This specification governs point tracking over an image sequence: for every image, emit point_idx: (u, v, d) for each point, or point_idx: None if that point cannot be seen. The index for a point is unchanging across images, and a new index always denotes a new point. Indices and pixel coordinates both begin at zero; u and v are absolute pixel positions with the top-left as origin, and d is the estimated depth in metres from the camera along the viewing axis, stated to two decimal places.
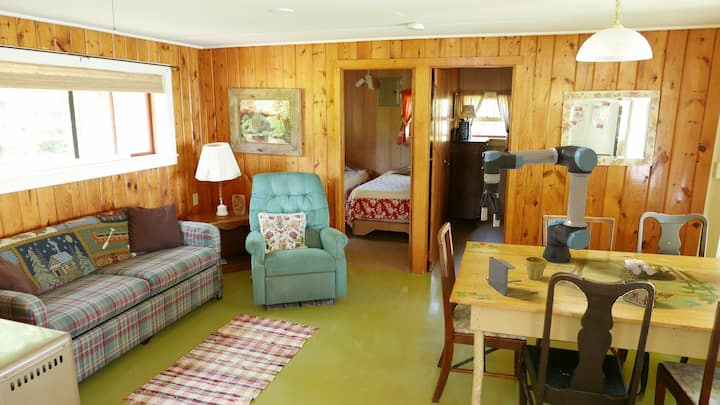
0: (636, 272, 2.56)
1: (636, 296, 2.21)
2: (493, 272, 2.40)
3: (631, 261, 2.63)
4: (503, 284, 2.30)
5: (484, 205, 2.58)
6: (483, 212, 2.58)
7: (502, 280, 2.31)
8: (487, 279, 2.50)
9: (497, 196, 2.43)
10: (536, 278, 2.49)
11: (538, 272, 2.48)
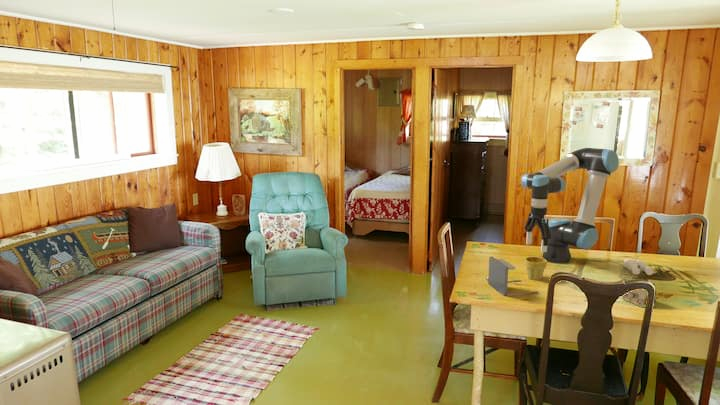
0: (635, 272, 2.56)
1: (636, 296, 2.20)
2: (493, 272, 2.40)
3: (630, 261, 2.64)
4: (503, 284, 2.30)
5: (529, 229, 2.54)
6: (528, 236, 2.55)
7: (502, 280, 2.31)
8: (487, 279, 2.50)
9: (545, 221, 2.40)
10: (536, 278, 2.49)
11: (538, 272, 2.48)
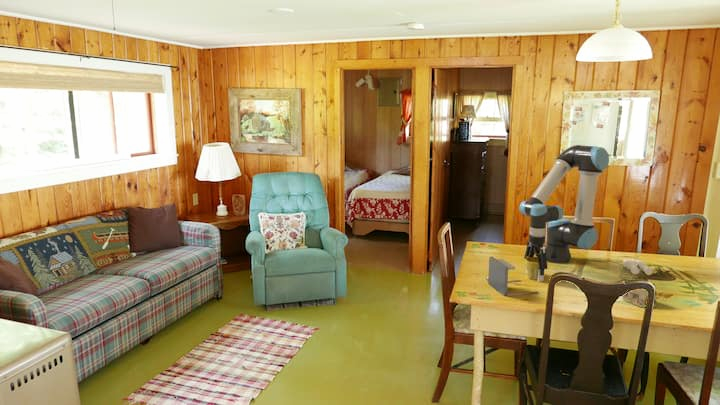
0: (635, 272, 2.56)
1: (636, 297, 2.20)
2: (493, 272, 2.40)
3: (629, 261, 2.64)
4: (503, 284, 2.30)
5: None
6: None
7: (502, 280, 2.31)
8: (487, 279, 2.50)
9: (543, 252, 2.43)
10: (536, 278, 2.49)
11: None
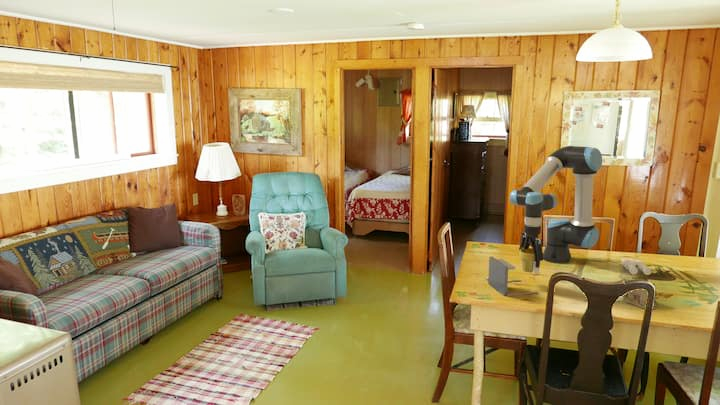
0: (633, 272, 2.56)
1: (637, 298, 2.19)
2: (493, 272, 2.40)
3: (628, 261, 2.64)
4: (503, 284, 2.30)
5: None
6: None
7: (502, 280, 2.31)
8: (487, 279, 2.50)
9: (539, 242, 2.30)
10: (531, 270, 2.36)
11: (533, 263, 2.35)
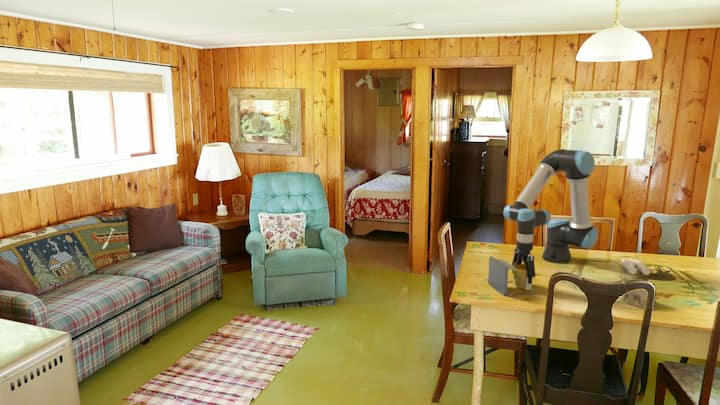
0: (632, 272, 2.56)
1: (637, 298, 2.18)
2: (493, 272, 2.40)
3: (627, 261, 2.64)
4: (503, 284, 2.30)
5: None
6: None
7: (502, 280, 2.31)
8: (487, 279, 2.50)
9: (531, 259, 2.31)
10: (524, 286, 2.37)
11: None
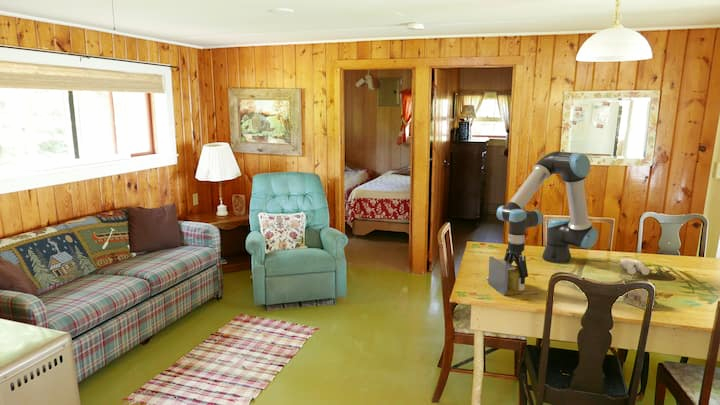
0: (631, 272, 2.56)
1: (638, 299, 2.18)
2: (493, 272, 2.40)
3: (626, 261, 2.64)
4: (503, 284, 2.30)
5: None
6: None
7: (502, 280, 2.31)
8: (487, 279, 2.50)
9: (523, 259, 2.30)
10: (515, 288, 2.36)
11: (517, 281, 2.35)
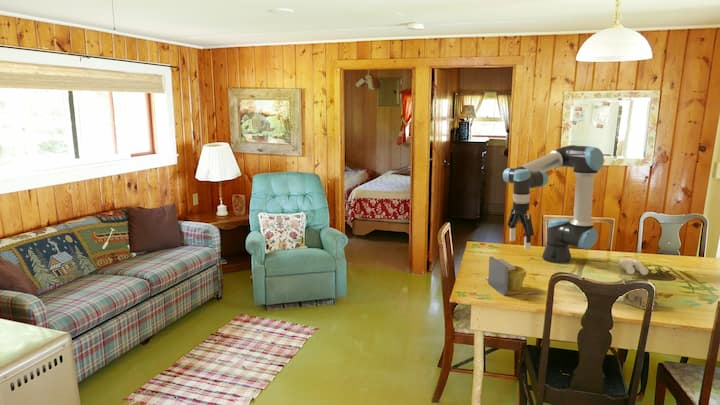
0: (630, 272, 2.56)
1: (638, 299, 2.17)
2: (493, 272, 2.40)
3: (626, 261, 2.64)
4: (503, 284, 2.30)
5: (512, 225, 2.46)
6: (511, 233, 2.46)
7: (502, 280, 2.31)
8: (487, 279, 2.50)
9: (528, 217, 2.31)
10: (515, 288, 2.36)
11: (517, 282, 2.35)
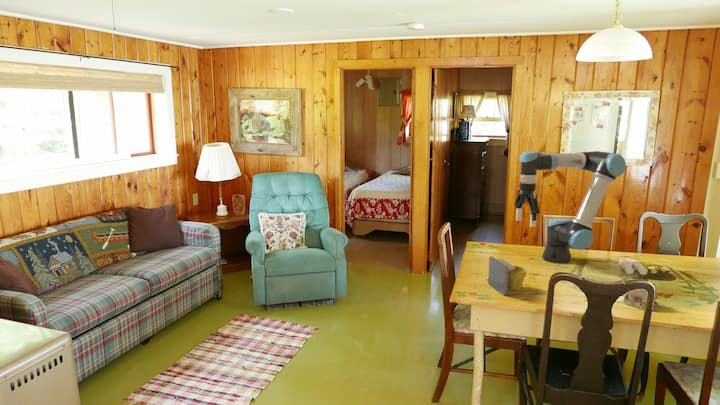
0: (629, 272, 2.56)
1: (638, 300, 2.17)
2: (493, 272, 2.40)
3: (625, 261, 2.64)
4: (503, 284, 2.30)
5: (519, 205, 2.59)
6: (518, 212, 2.60)
7: (502, 280, 2.31)
8: (487, 279, 2.50)
9: (534, 197, 2.45)
10: (515, 288, 2.36)
11: (517, 281, 2.35)
